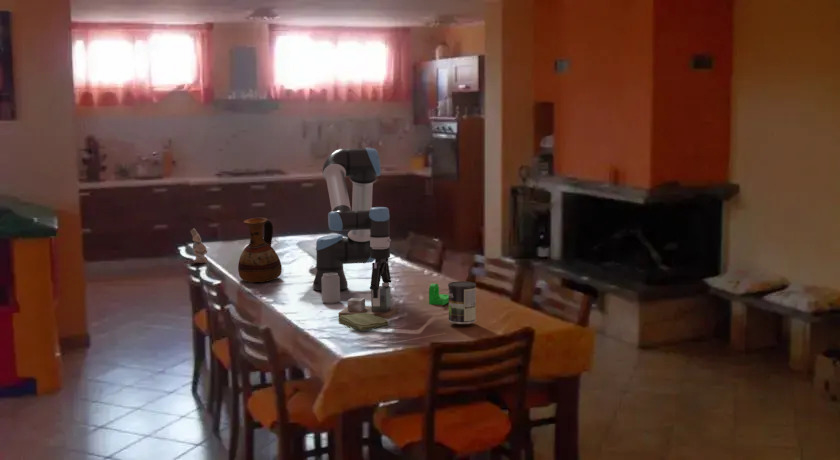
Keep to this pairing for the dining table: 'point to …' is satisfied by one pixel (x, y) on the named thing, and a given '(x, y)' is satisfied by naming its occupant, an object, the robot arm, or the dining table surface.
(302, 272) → the dining table surface
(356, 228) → the robot arm
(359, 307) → the board
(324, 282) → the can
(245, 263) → the ceramic pitcher
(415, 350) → the dining table surface
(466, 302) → the coffee can
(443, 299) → the mechanical part
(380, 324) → the washcloth
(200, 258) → the figurine
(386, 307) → the dark grey block
